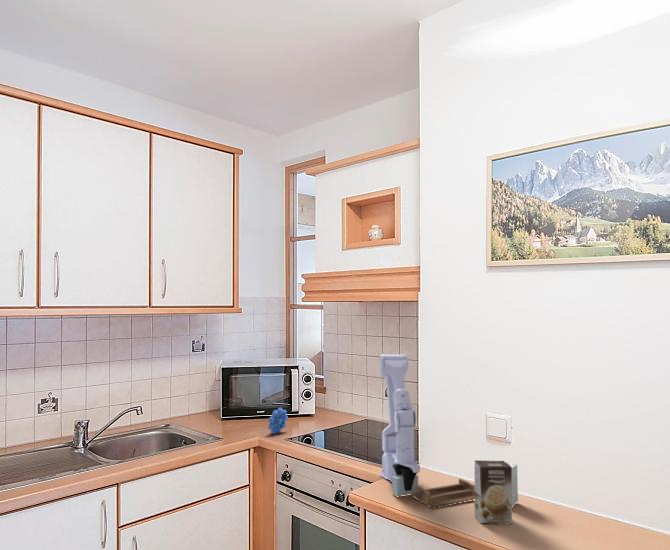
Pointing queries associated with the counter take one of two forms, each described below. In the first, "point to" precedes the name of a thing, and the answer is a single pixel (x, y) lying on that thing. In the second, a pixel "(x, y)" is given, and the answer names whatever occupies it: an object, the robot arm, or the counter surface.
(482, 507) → the coffee box
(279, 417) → the grapes
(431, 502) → the wooden tray
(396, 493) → the door panel
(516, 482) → the skincare box
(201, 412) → the counter surface
